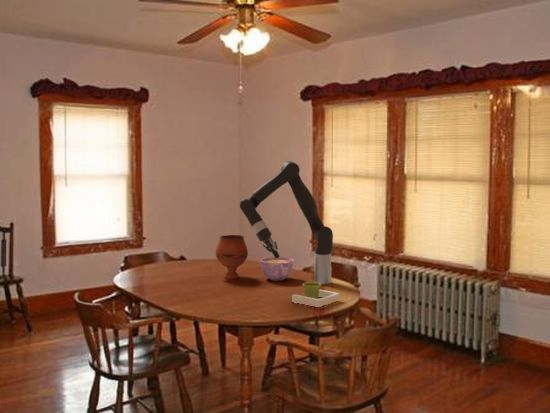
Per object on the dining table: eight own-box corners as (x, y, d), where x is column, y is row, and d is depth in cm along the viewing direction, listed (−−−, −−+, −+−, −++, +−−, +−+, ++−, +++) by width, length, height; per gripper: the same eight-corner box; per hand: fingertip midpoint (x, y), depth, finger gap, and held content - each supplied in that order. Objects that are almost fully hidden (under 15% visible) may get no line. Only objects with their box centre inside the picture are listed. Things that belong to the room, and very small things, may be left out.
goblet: (249, 274, 349) (249, 234, 347) (245, 281, 330) (245, 238, 327) (219, 273, 351) (219, 233, 348) (212, 280, 332) (212, 238, 329)
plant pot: (306, 304, 280) (306, 287, 280) (299, 299, 289) (299, 282, 288) (323, 302, 283) (324, 285, 283) (316, 298, 292) (316, 281, 292)
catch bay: (313, 295, 297) (313, 288, 297) (339, 301, 286) (339, 293, 286) (292, 302, 283) (292, 294, 283) (318, 308, 273) (318, 300, 272)
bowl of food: (290, 283, 324) (290, 264, 323) (256, 282, 328) (256, 262, 327) (296, 276, 343) (296, 257, 342) (264, 274, 347) (264, 256, 346)
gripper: (261, 227, 300) (278, 254, 296) (272, 226, 312) (288, 253, 308) (251, 234, 303) (267, 262, 299) (261, 234, 315) (277, 260, 311)
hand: (278, 257), depth 303 cm, fingers closed
